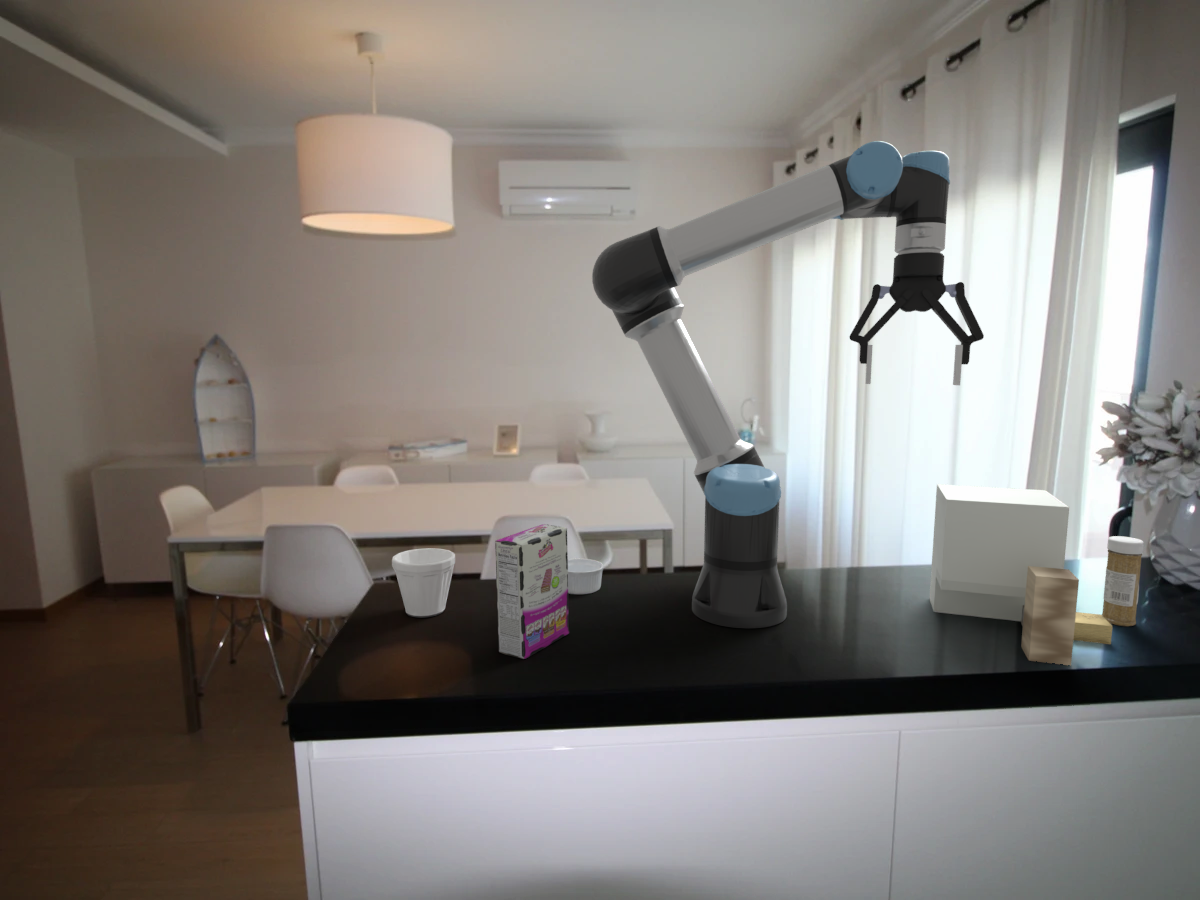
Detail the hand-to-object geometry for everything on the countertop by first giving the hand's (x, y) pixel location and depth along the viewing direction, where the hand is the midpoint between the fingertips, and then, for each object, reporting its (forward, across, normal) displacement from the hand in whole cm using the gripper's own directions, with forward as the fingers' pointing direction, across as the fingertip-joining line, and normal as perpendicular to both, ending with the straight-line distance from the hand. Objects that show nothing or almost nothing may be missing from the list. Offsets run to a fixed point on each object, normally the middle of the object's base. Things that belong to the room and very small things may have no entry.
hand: (911, 384), depth 121 cm
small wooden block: (+37, +26, -9) cm, 46 cm away
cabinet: (+37, +13, -6) cm, 39 cm away
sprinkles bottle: (+37, +32, -1) cm, 49 cm away
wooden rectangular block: (+37, +18, -15) cm, 43 cm away
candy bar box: (+37, -51, -40) cm, 75 cm away
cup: (+37, -73, -34) cm, 89 cm away
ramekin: (+37, -54, -14) cm, 67 cm away
